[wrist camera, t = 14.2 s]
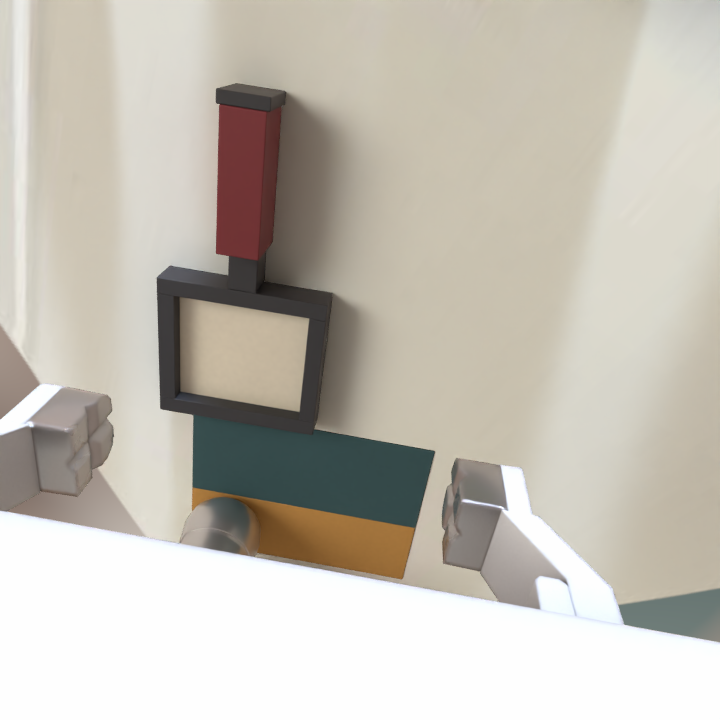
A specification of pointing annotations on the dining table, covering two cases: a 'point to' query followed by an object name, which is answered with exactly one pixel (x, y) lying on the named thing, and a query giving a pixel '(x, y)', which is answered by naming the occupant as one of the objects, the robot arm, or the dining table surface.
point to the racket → (243, 294)
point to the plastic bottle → (223, 527)
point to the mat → (316, 491)
